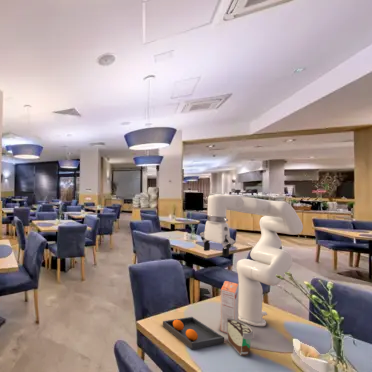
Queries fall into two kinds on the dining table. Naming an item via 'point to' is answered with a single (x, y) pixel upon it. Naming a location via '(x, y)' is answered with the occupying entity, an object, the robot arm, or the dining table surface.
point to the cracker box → (229, 303)
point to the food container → (239, 336)
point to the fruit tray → (204, 333)
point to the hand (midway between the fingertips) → (215, 253)
